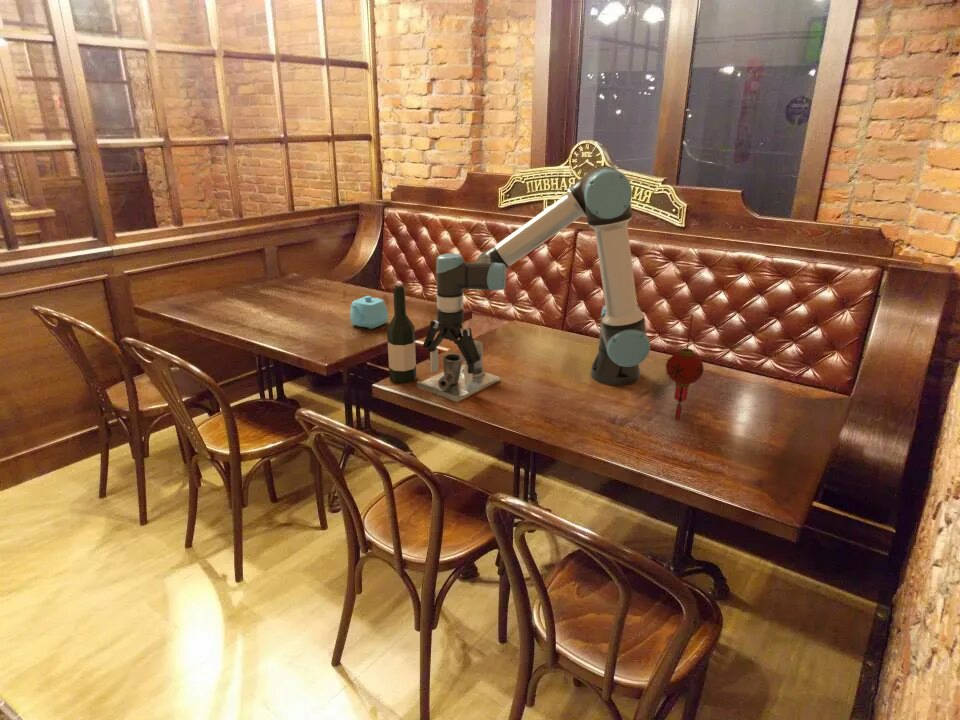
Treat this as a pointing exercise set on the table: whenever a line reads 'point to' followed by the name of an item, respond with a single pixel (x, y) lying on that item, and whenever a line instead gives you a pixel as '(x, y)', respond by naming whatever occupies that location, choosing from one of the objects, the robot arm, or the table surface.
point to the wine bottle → (401, 341)
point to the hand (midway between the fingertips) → (451, 376)
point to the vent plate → (462, 381)
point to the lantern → (684, 372)
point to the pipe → (450, 370)
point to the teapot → (368, 312)
